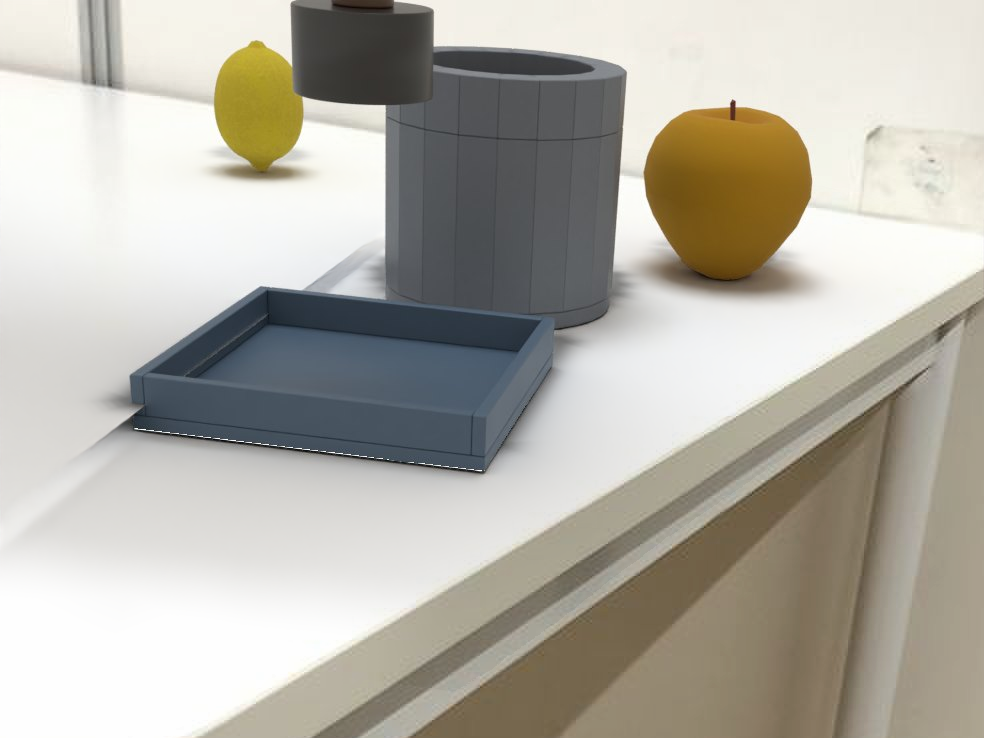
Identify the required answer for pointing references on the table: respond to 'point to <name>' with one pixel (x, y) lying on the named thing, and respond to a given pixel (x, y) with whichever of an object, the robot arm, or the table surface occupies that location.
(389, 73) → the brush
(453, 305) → the jar
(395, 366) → the tray
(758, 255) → the apple
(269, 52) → the lemon
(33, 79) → the table surface
